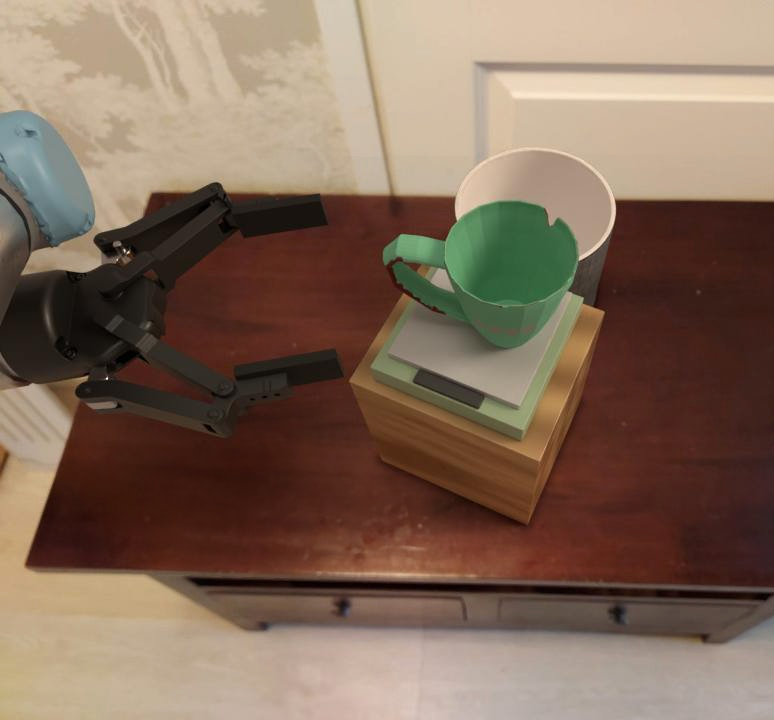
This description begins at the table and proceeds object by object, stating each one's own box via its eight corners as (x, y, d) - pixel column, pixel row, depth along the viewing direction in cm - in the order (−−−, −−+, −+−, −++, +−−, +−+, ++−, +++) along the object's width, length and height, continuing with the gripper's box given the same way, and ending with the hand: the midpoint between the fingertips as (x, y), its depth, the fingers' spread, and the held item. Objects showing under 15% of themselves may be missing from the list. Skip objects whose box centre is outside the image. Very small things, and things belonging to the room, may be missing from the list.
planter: (587, 232, 90) (605, 144, 76) (604, 343, 82) (627, 266, 68) (458, 236, 90) (453, 149, 76) (461, 348, 82) (455, 273, 68)
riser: (527, 525, 71) (539, 461, 53) (381, 460, 75) (348, 381, 57) (579, 403, 78) (605, 311, 60) (443, 349, 82) (430, 248, 64)
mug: (569, 283, 58) (583, 205, 49) (560, 381, 53) (574, 314, 44) (407, 266, 59) (392, 187, 50) (384, 360, 54) (363, 291, 46)
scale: (521, 441, 54) (523, 426, 51) (374, 380, 57) (368, 362, 54) (580, 312, 60) (585, 292, 57) (444, 262, 63) (442, 241, 60)
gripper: (72, 229, 54) (328, 189, 56) (30, 524, 42) (359, 462, 44) (14, 161, 47) (307, 118, 49) (-55, 488, 35) (335, 417, 37)
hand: (332, 280), depth 46 cm, fingers open, 13 cm apart
